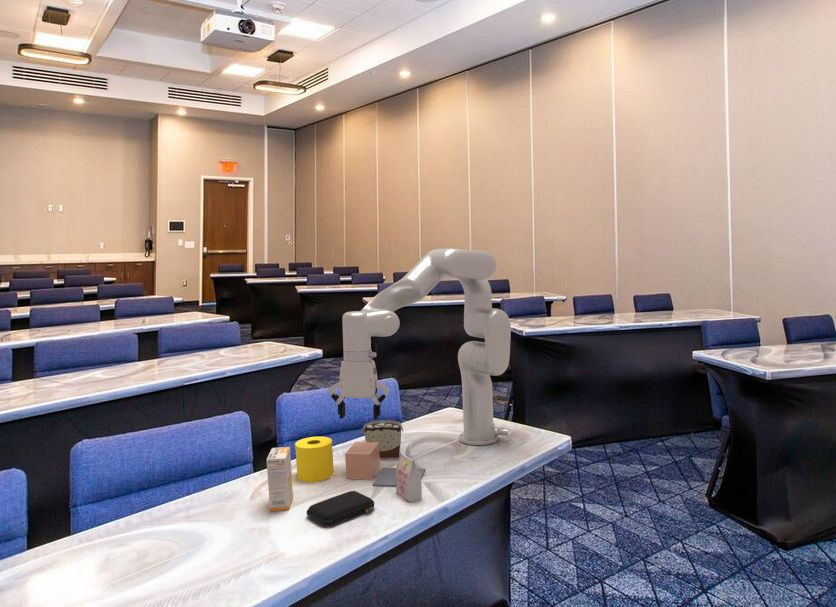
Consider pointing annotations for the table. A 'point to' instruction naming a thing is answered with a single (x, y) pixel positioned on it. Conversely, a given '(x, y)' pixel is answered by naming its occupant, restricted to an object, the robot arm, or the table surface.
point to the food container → (385, 437)
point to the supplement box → (279, 478)
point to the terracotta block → (362, 460)
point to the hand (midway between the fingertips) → (359, 417)
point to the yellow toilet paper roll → (314, 459)
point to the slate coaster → (390, 477)
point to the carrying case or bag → (340, 508)
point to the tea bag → (408, 479)
